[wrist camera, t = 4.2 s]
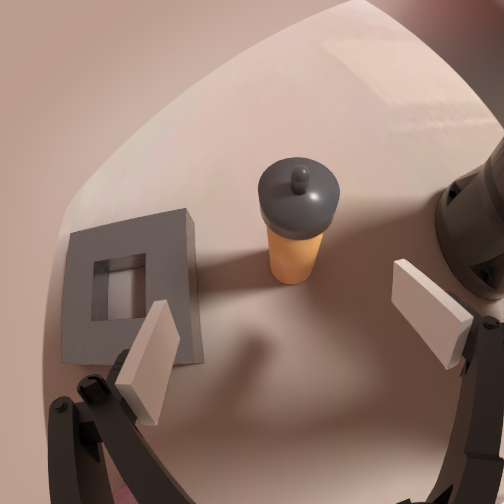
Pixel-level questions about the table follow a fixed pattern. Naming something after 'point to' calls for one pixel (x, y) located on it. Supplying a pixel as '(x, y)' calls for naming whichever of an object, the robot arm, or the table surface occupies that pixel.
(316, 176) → the orange lidded canister
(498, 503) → the ramekin
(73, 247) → the grey square socket block
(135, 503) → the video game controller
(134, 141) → the table surface
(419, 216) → the table surface
